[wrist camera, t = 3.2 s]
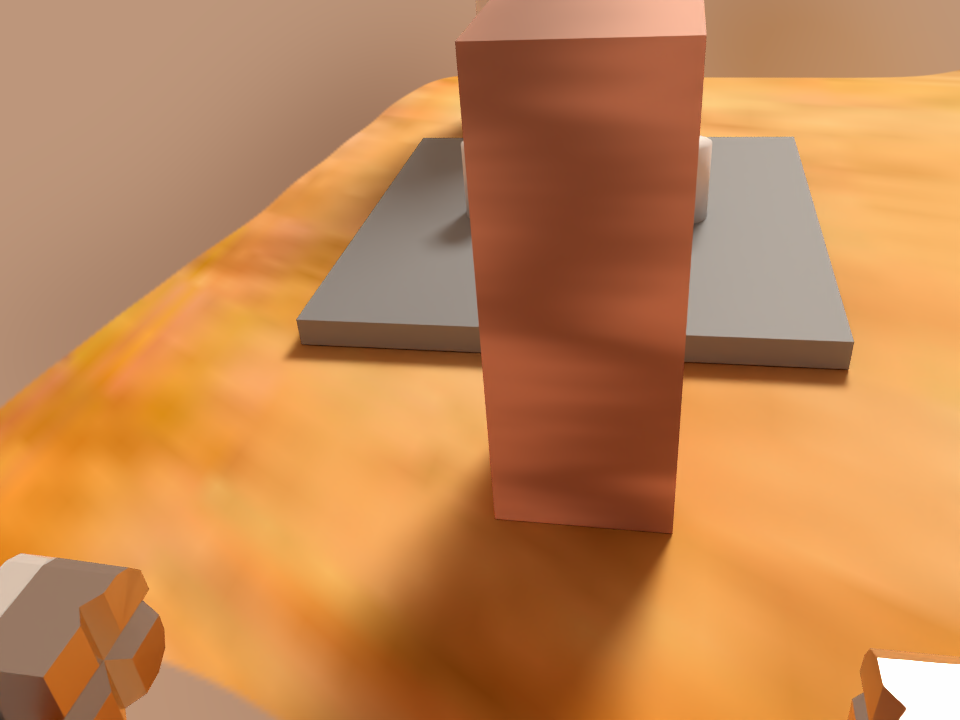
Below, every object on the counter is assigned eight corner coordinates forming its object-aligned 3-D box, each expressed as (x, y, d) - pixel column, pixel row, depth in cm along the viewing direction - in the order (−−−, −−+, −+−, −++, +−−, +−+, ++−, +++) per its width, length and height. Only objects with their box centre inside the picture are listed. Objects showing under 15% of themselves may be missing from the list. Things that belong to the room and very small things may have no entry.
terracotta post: (674, 423, 26) (702, -17, 19) (672, 533, 22) (706, 35, 15) (521, 414, 26) (497, -10, 20) (495, 518, 23) (455, 41, 16)
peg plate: (791, 157, 42) (802, 72, 40) (848, 369, 27) (871, 252, 25) (425, 156, 45) (416, 78, 43) (301, 343, 31) (279, 240, 28)
